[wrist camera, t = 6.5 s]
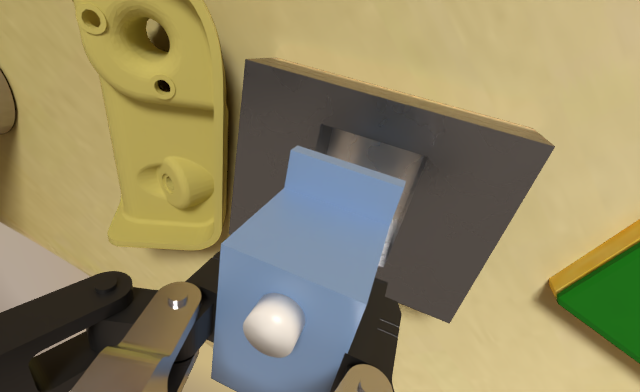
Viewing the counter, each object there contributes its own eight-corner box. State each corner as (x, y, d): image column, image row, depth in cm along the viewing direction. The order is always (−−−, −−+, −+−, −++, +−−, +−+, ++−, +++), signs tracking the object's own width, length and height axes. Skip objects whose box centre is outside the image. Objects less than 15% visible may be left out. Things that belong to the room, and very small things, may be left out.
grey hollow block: (256, 210, 27) (228, 233, 23) (277, 57, 21) (245, 59, 18) (447, 283, 24) (449, 323, 20) (532, 128, 18) (555, 146, 14)
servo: (290, 277, 18) (195, 423, 11) (324, 127, 14) (203, 208, 7) (356, 305, 18) (299, 481, 10) (412, 155, 13) (379, 278, 6)
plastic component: (221, 252, 27) (89, 245, 25) (232, 202, 33) (126, 193, 31) (225, -35, 16) (-3, -83, 14) (240, -30, 22) (81, -63, 21)
